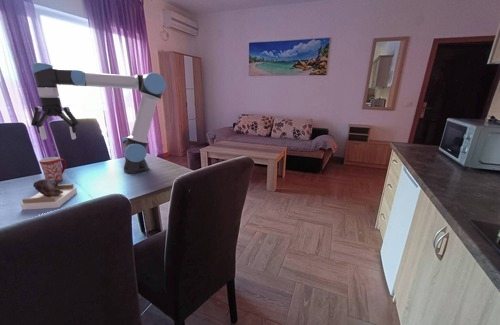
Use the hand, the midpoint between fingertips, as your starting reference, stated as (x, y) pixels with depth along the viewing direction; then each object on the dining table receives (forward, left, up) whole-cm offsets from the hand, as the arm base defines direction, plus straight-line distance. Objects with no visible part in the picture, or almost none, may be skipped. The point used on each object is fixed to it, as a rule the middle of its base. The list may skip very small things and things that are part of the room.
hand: (59, 139), depth 117 cm
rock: (-1, +18, -24) cm, 30 cm away
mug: (+12, -11, -27) cm, 31 cm away
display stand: (-1, +18, -27) cm, 32 cm away
